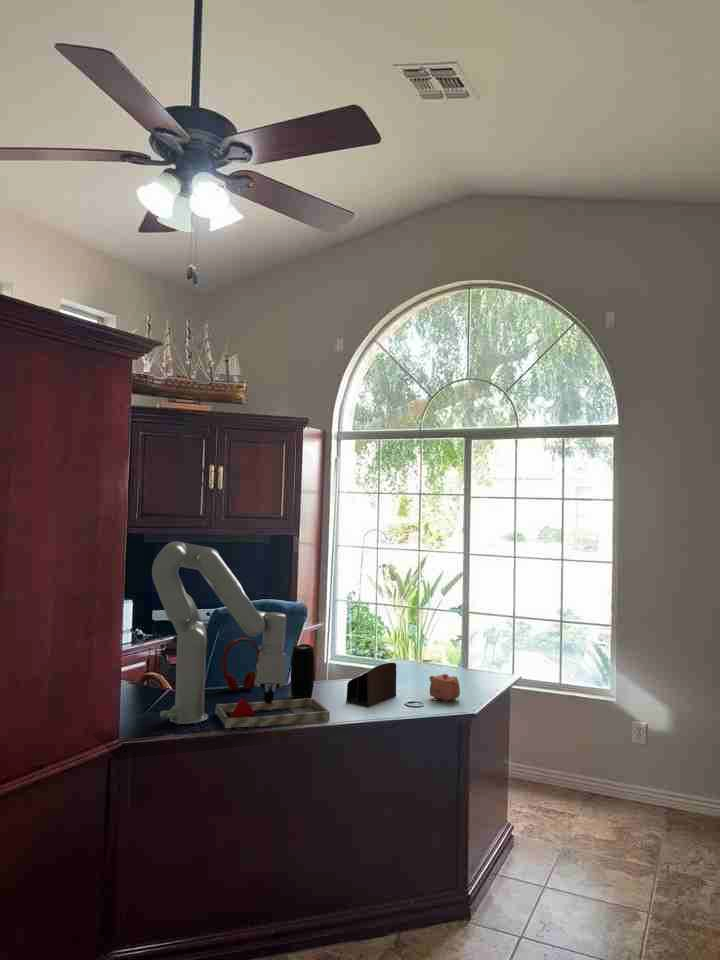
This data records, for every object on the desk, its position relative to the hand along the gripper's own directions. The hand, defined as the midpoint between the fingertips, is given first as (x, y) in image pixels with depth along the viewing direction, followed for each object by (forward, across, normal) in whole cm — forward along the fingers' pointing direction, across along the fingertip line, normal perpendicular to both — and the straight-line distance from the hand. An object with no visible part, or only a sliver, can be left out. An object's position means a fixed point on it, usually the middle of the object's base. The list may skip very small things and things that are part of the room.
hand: (268, 702), depth 255 cm
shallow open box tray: (+5, +2, 0) cm, 5 cm away
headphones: (+6, -1, +38) cm, 38 cm away
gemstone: (+6, -10, -3) cm, 12 cm away
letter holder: (+3, +44, +12) cm, 46 cm away
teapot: (+2, +70, +5) cm, 70 cm away
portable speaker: (+4, +19, +21) cm, 28 cm away
